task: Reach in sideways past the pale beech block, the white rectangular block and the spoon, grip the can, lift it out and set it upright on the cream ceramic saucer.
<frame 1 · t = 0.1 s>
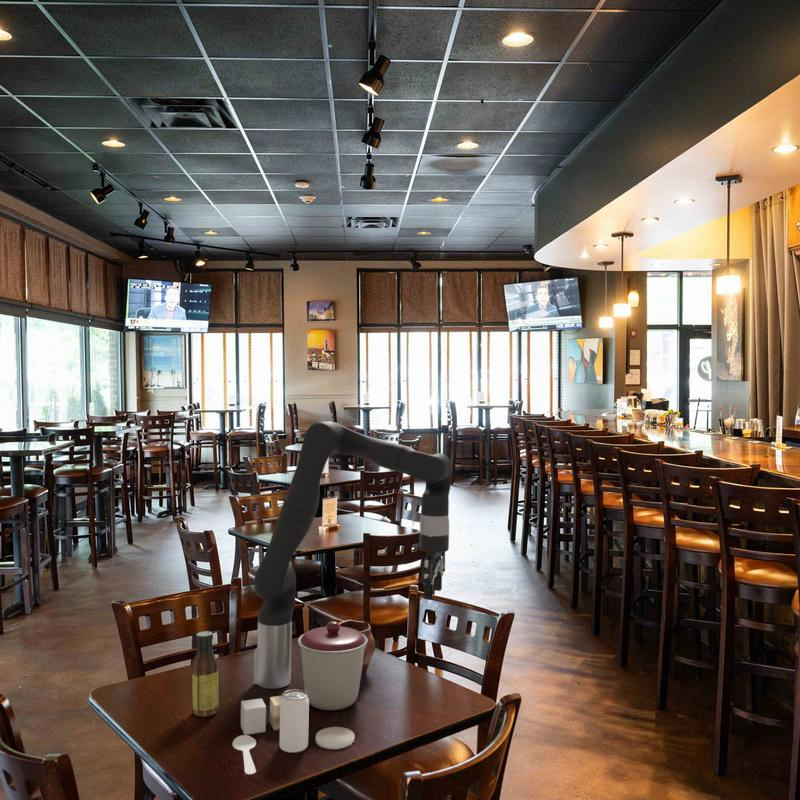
hand: (432, 594, 189), 29 cm above the table, tool pointing down, fingers open, 8 cm apart
cream saucer: (335, 740, 171), on the table
beech block: (282, 724, 178), on the table
decorative planter: (353, 674, 211), on the table
spoon: (246, 756, 163), on the table
sauce bottle: (204, 713, 184), on the table
can: (293, 747, 167), on the table
white rectangular block: (252, 728, 176), on the table
canister: (331, 703, 191), on the table
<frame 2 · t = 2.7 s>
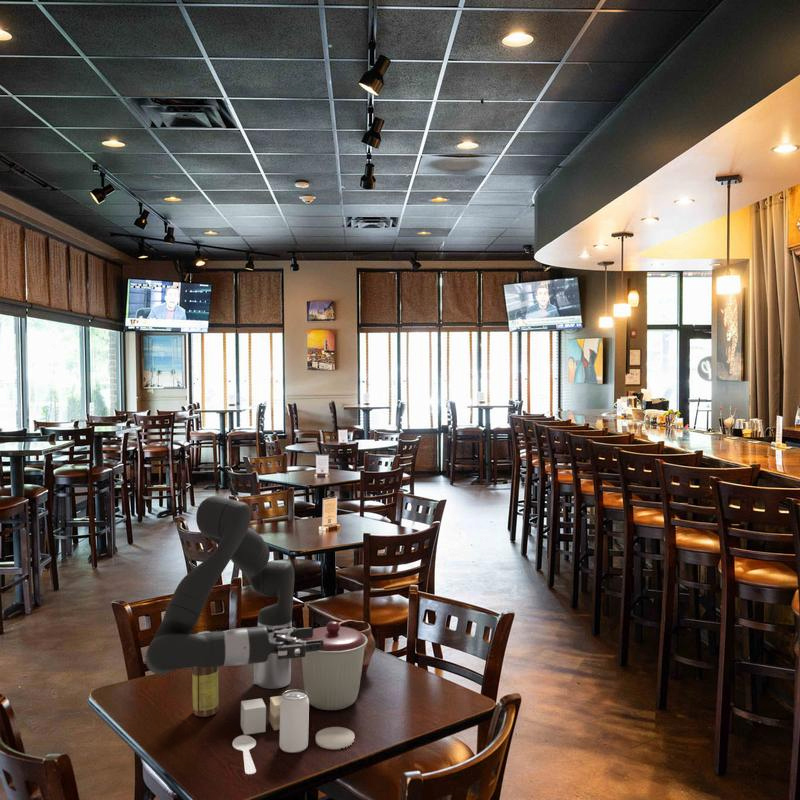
hand: (317, 638, 163), 26 cm above the table, tool horizontal, fingers open, 8 cm apart
nothing on the table moved.
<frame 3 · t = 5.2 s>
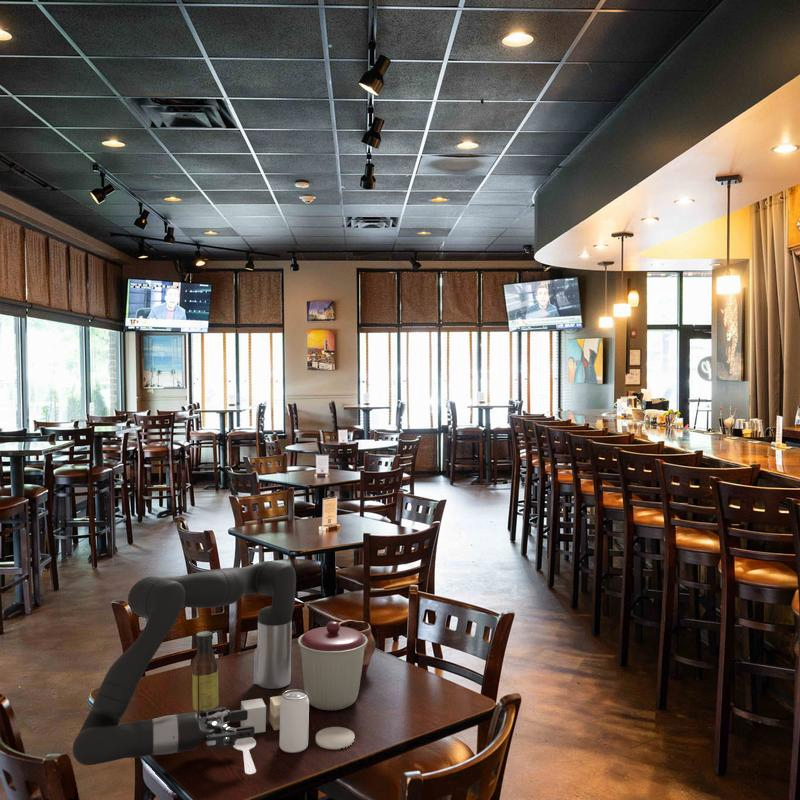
hand: (250, 722, 163), 7 cm above the table, tool horizontal, fingers open, 8 cm apart
nothing on the table moved.
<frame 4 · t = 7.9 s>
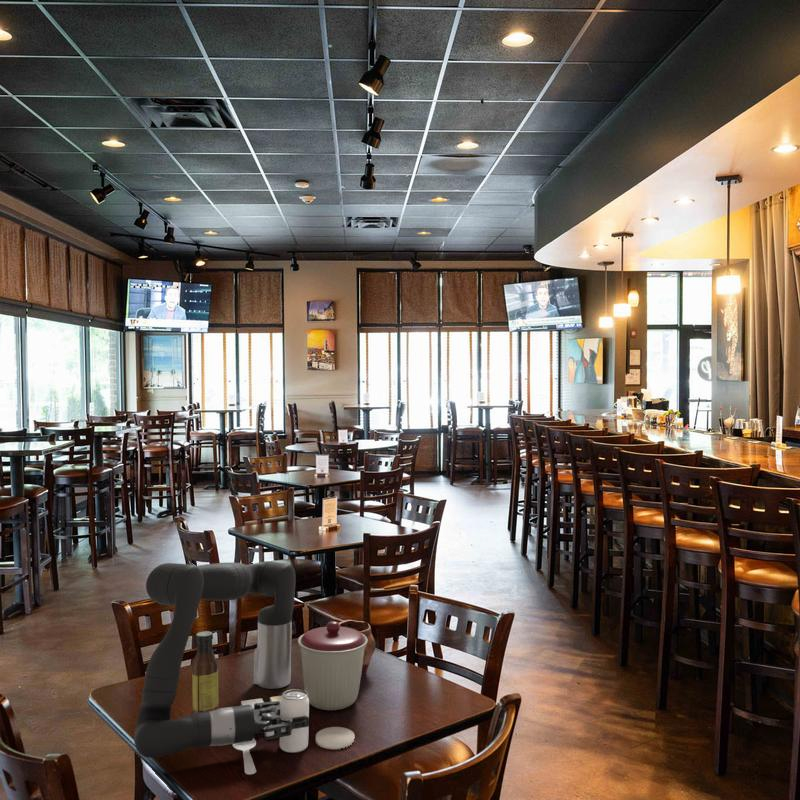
hand: (304, 714, 168), 7 cm above the table, tool horizontal, fingers closed on can, 6 cm apart
can: (293, 747, 167), on the table, touching gripper
everything else where it was.
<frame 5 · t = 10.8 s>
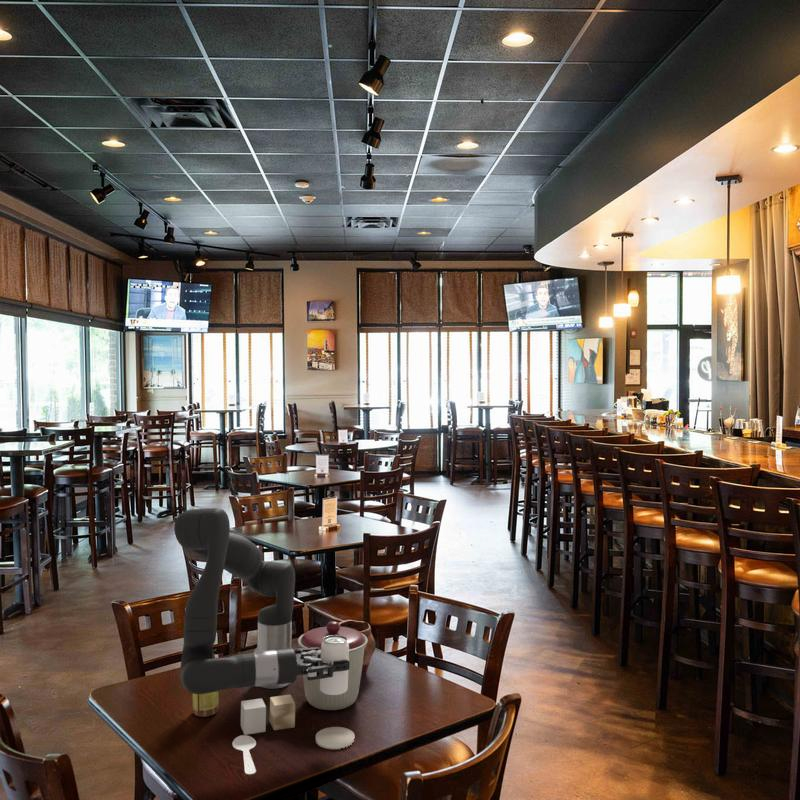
hand: (344, 659, 171), 19 cm above the table, tool horizontal, fingers closed on can, 6 cm apart
can: (333, 691, 170), point 11 cm above the table, touching gripper
everything else where it was.
when the fingers open (9 cm above the table, at t = 13.7 s): can drops 1 cm, resting on cream saucer.
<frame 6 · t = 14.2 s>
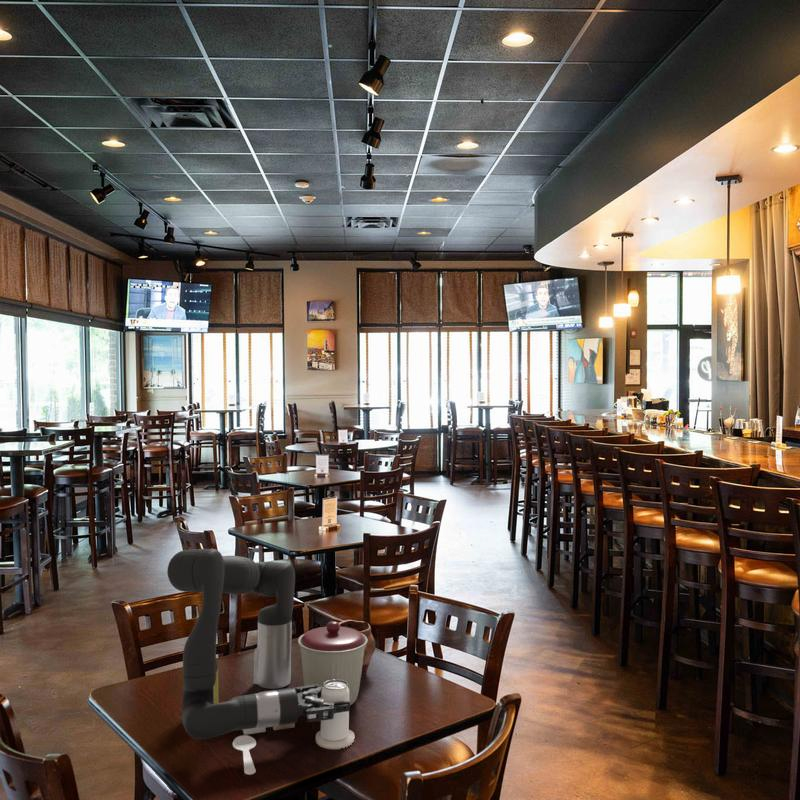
hand: (343, 698, 171), 10 cm above the table, tool horizontal, fingers open, 8 cm apart
can: (334, 736, 171), point 1 cm above the table, touching cream saucer
everything else where it was.
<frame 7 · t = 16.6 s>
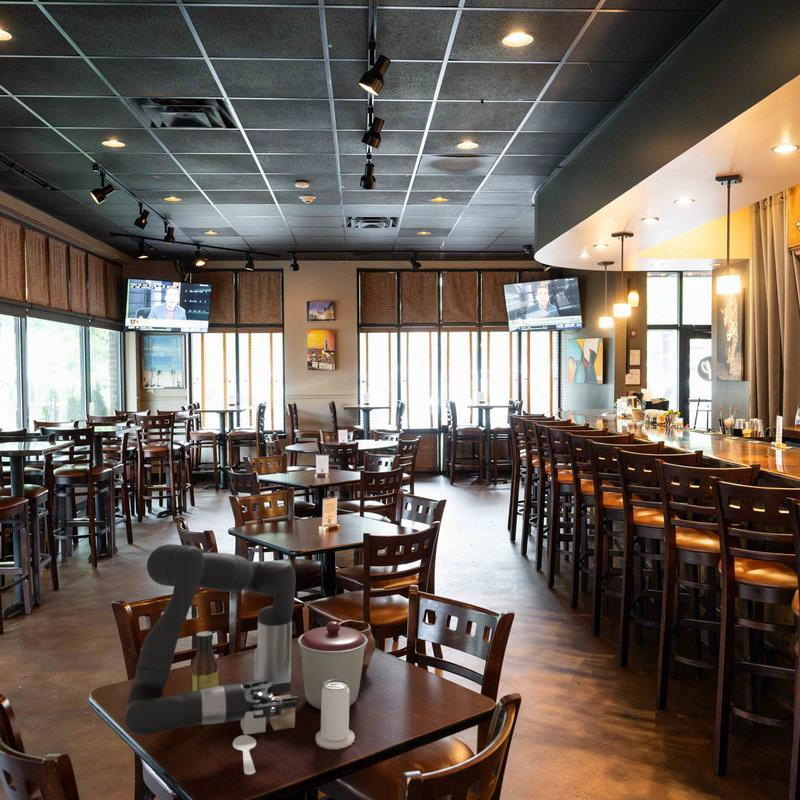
hand: (294, 693, 167), 12 cm above the table, tool horizontal, fingers open, 8 cm apart
nothing on the table moved.
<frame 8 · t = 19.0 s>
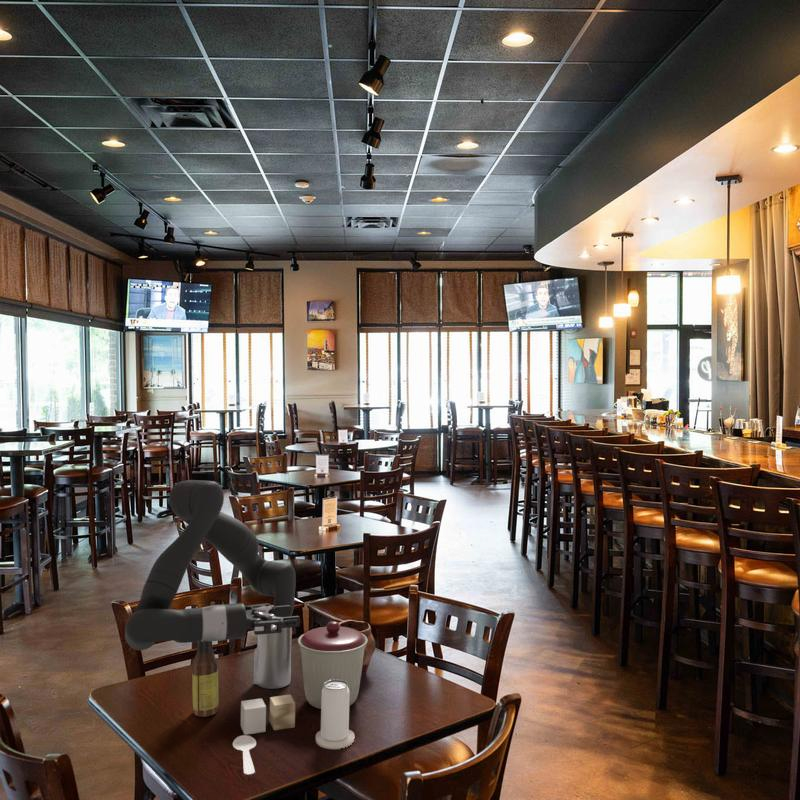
hand: (295, 615, 167), 30 cm above the table, tool horizontal, fingers open, 8 cm apart
nothing on the table moved.
at the end: can 0.1 cm from the cream saucer (horizontally); can tilted 0°; can touching cream saucer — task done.
